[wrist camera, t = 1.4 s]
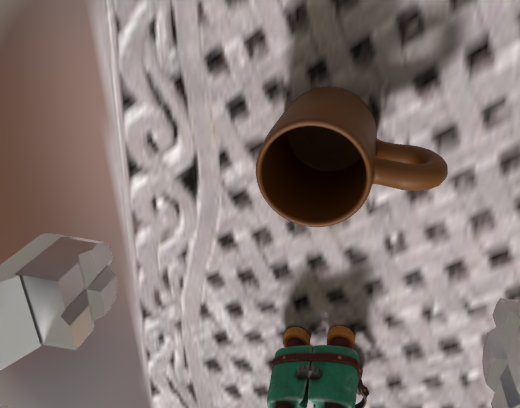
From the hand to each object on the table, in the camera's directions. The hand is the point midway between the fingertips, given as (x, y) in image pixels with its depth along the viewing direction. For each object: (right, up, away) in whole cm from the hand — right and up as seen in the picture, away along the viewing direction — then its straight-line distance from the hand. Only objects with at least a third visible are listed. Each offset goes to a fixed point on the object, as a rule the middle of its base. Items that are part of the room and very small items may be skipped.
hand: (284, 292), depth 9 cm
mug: (+7, +8, +26) cm, 28 cm away
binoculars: (+6, -14, +37) cm, 40 cm away
